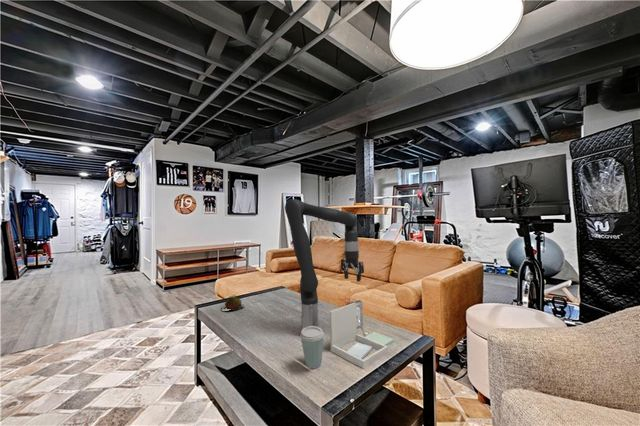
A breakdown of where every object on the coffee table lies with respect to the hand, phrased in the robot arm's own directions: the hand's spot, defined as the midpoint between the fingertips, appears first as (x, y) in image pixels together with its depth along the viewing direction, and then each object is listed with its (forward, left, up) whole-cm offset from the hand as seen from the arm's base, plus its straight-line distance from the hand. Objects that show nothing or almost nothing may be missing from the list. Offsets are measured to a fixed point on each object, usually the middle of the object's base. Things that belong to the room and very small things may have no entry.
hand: (352, 279), depth 141 cm
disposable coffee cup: (-26, -21, -30) cm, 45 cm away
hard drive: (-8, -21, -29) cm, 37 cm away
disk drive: (+4, +10, -30) cm, 32 cm away
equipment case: (-3, -16, -30) cm, 34 cm away
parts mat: (+10, -9, -30) cm, 33 cm away
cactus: (-70, +65, -31) cm, 100 cm away
